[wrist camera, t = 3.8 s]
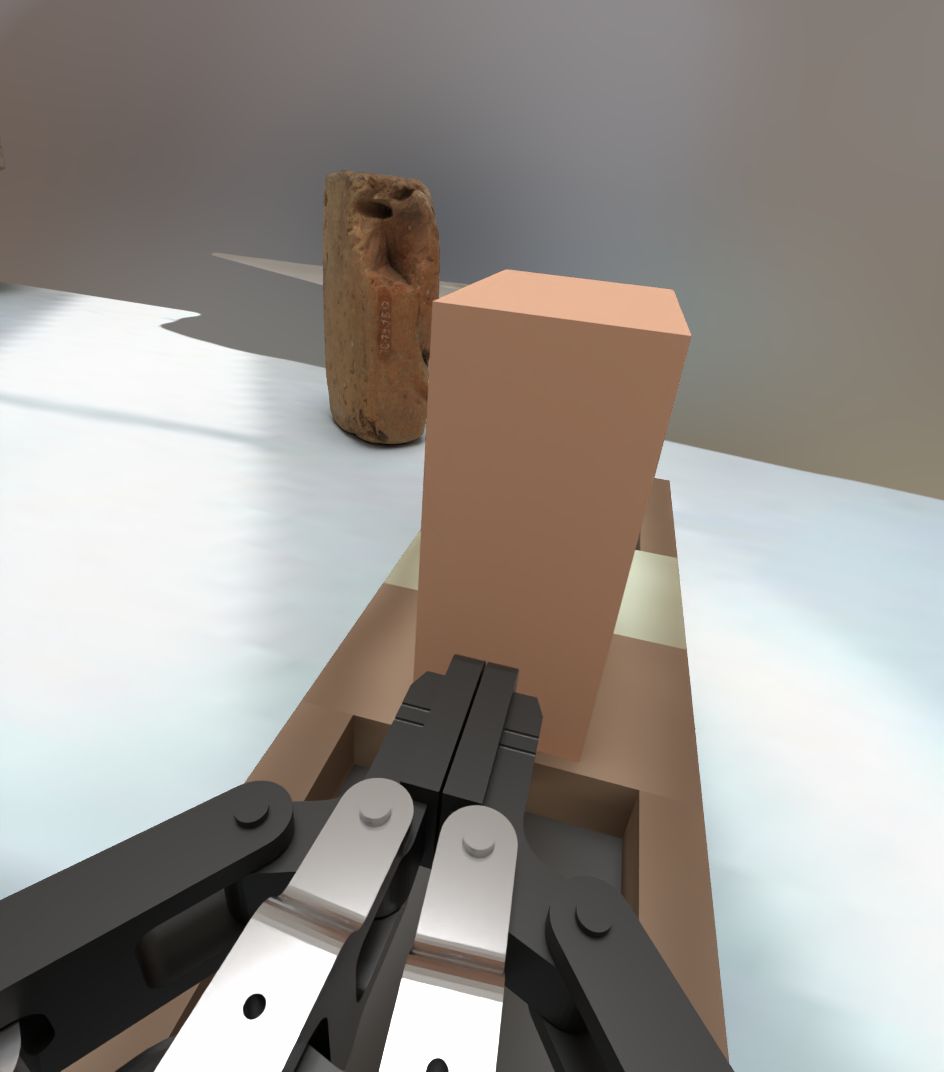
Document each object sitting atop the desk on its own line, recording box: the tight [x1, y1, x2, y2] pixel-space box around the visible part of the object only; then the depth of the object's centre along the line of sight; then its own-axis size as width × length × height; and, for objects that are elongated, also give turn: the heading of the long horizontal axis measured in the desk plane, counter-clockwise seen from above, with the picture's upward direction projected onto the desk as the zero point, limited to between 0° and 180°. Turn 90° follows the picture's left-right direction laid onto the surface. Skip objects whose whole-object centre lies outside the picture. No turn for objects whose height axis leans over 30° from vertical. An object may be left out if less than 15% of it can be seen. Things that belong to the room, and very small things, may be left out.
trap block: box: [413, 270, 691, 762], centre depth 21 cm, size 6×9×14 cm, turn 166°
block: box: [323, 170, 440, 444], centre depth 50 cm, size 11×8×20 cm
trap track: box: [61, 478, 729, 1072], centre depth 28 cm, size 14×38×3 cm, turn 166°
